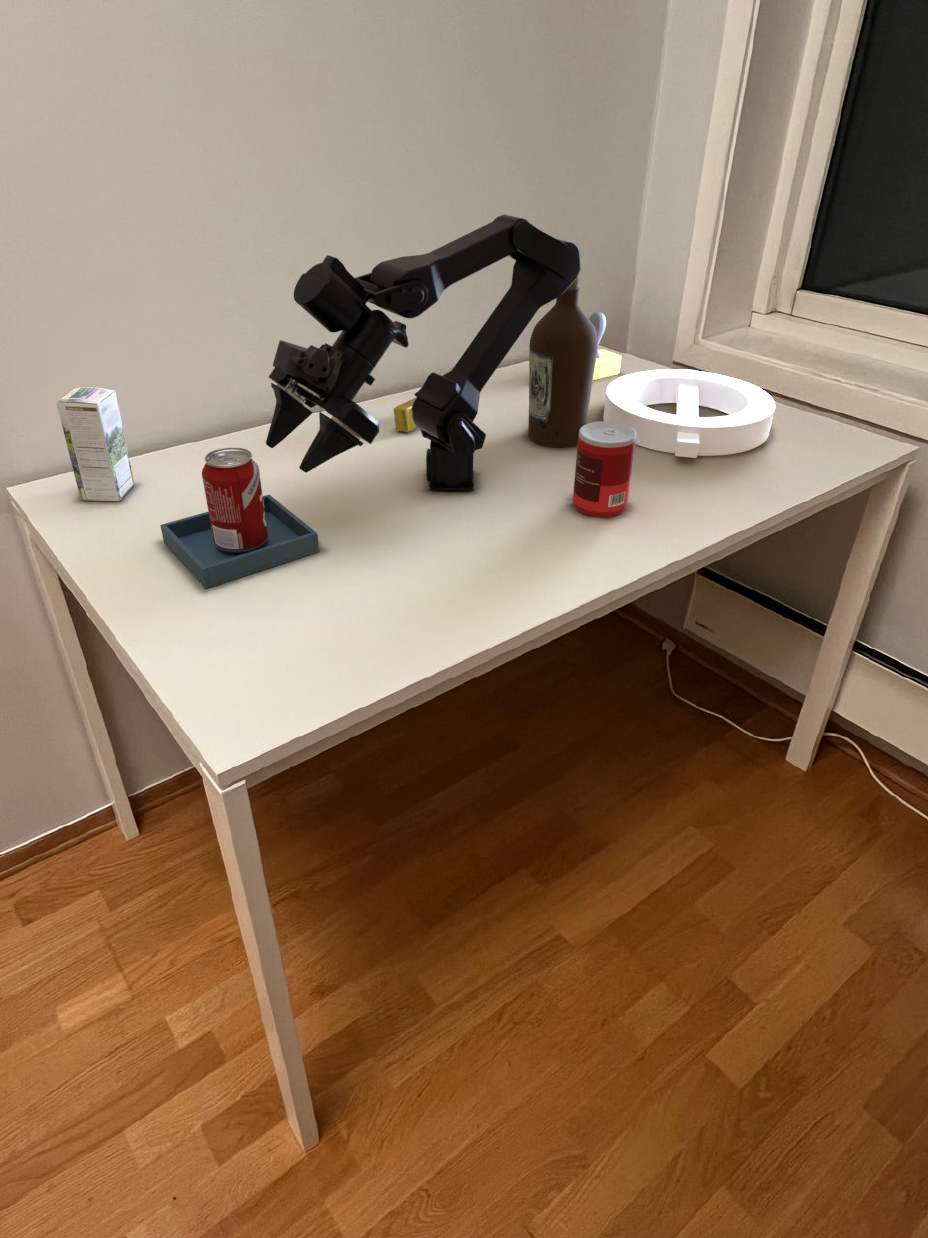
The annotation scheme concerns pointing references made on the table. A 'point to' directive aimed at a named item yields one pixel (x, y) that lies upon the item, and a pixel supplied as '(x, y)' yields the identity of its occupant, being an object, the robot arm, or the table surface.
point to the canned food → (603, 468)
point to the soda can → (234, 500)
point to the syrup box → (96, 443)
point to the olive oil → (561, 372)
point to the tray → (219, 566)
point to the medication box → (404, 416)
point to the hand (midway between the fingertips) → (285, 458)
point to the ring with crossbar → (691, 412)
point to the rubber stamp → (604, 351)
